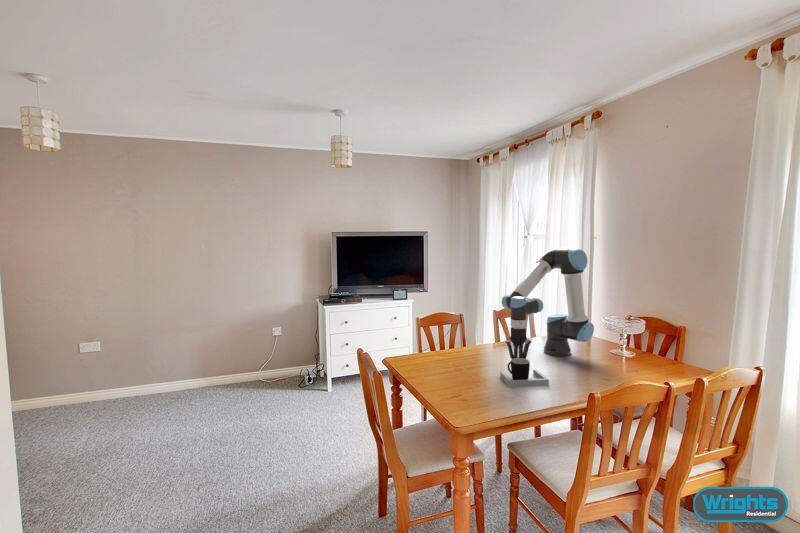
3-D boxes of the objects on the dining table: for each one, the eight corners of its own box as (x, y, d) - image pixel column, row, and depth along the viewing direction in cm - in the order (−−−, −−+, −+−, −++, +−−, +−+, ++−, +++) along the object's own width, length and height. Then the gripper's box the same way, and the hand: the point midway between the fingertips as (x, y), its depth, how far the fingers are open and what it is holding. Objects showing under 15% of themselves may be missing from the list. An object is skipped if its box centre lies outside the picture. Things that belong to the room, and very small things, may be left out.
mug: (533, 381, 187) (533, 361, 186) (521, 385, 182) (521, 365, 181) (513, 374, 197) (513, 355, 196) (502, 378, 192) (502, 358, 191)
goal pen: (500, 377, 194) (500, 371, 194) (536, 374, 196) (536, 369, 195) (510, 387, 180) (510, 381, 180) (548, 385, 182) (548, 379, 181)
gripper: (508, 329, 188) (508, 375, 190) (533, 328, 189) (533, 374, 191) (503, 326, 196) (503, 370, 198) (527, 325, 197) (527, 369, 199)
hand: (518, 372), depth 194 cm, fingers closed
